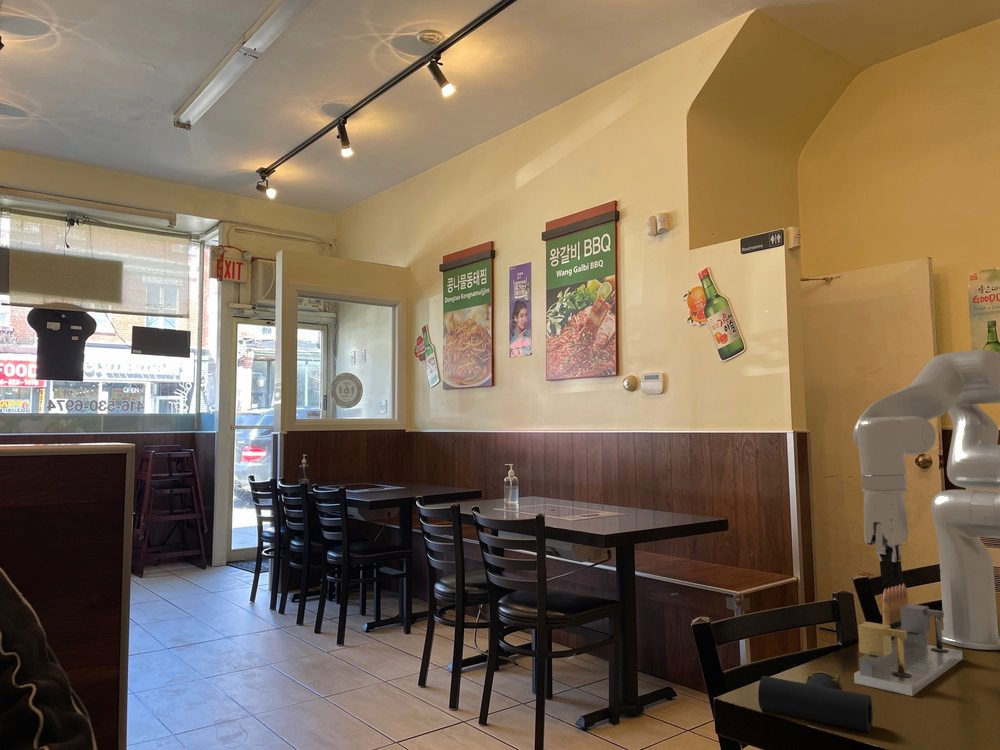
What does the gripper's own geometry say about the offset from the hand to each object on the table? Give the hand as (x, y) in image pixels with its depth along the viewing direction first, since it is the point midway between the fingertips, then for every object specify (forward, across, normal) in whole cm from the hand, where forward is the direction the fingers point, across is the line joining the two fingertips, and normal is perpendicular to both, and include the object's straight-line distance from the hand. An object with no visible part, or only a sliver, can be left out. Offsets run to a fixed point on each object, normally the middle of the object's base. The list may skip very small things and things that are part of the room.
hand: (892, 582), depth 132 cm
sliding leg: (+13, +10, +1) cm, 17 cm away
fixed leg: (+14, -12, +1) cm, 18 cm away
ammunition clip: (+17, -16, -5) cm, 24 cm away
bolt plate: (+15, 0, +2) cm, 16 cm away
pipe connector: (+14, +34, -1) cm, 36 cm away
